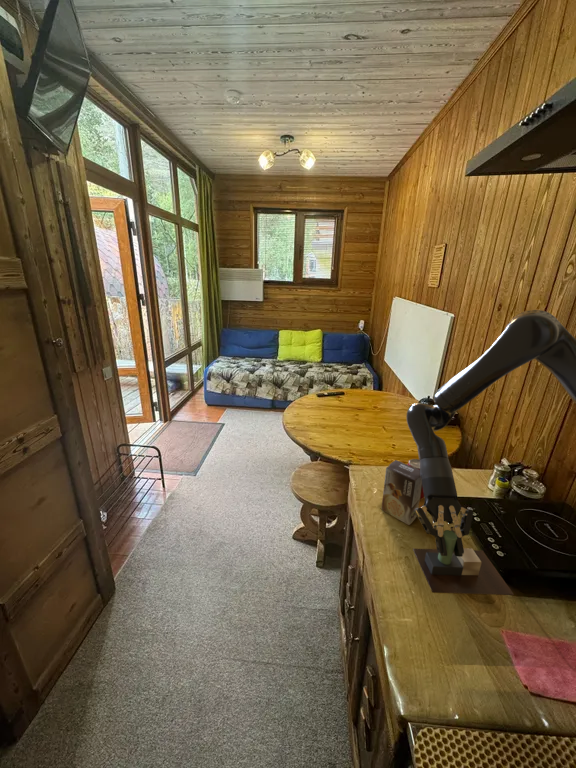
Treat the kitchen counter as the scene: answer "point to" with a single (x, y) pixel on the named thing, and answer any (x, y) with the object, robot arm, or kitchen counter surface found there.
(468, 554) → the beige cube
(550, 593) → the kitchen counter surface
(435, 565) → the green post on base
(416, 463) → the soda can
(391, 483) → the coffee box
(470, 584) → the board
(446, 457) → the robot arm
